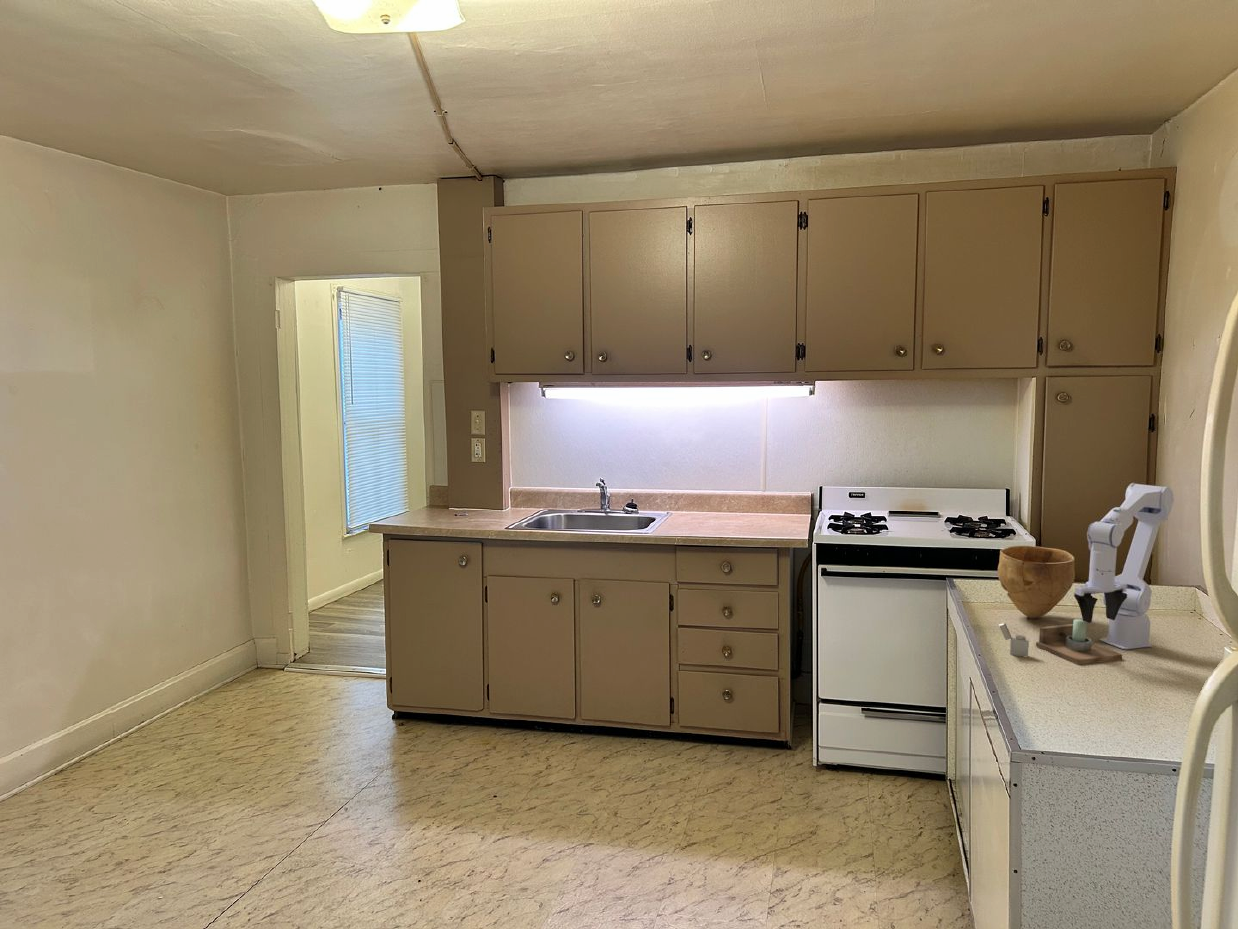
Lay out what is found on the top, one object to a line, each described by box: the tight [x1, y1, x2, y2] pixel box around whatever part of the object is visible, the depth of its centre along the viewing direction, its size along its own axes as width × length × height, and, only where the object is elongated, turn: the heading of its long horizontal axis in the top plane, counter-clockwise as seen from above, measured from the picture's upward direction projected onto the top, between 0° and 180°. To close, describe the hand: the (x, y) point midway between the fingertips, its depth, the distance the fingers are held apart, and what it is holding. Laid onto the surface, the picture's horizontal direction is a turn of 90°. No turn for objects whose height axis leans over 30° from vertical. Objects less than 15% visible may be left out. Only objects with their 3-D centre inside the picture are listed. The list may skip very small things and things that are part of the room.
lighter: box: [998, 622, 1030, 658], centre depth 216 cm, size 7×2×8 cm, turn 59°
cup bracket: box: [1035, 623, 1123, 666], centre depth 217 cm, size 14×14×5 cm
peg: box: [1072, 618, 1088, 642], centre depth 217 cm, size 3×3×7 cm
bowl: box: [997, 545, 1076, 619], centre depth 246 cm, size 21×20×20 cm
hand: (1098, 620), depth 214 cm, fingers open, 7 cm apart
